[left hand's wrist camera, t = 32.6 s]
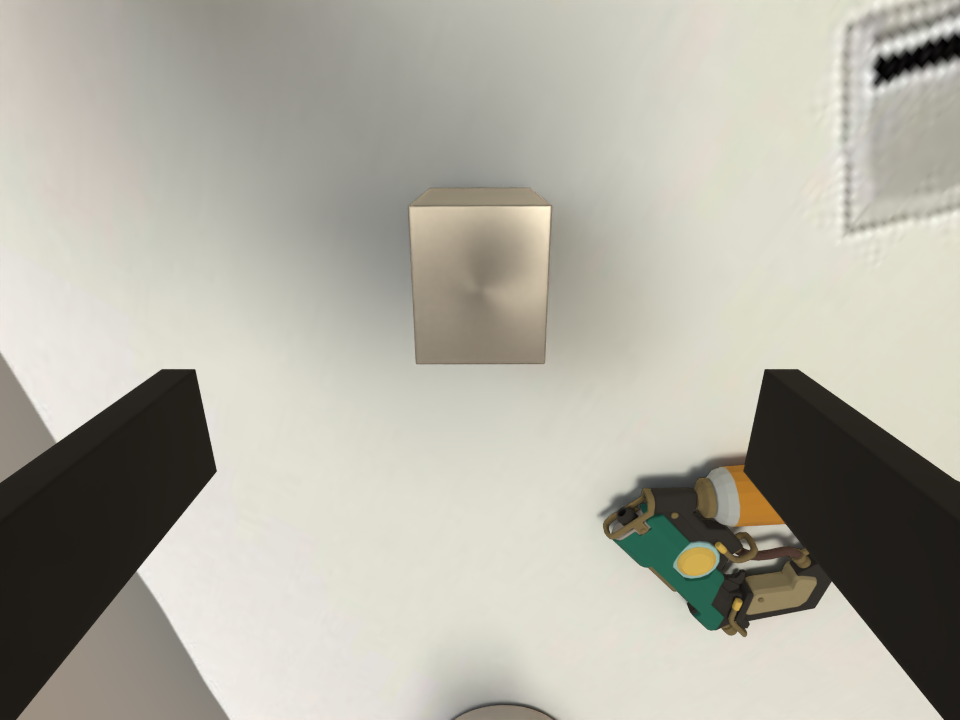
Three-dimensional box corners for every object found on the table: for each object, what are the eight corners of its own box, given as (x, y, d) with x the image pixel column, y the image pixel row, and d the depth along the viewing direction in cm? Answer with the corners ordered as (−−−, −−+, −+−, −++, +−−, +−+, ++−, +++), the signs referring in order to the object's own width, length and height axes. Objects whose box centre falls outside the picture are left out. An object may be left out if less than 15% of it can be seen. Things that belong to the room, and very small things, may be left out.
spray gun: (834, 572, 44) (659, 628, 47) (788, 417, 38) (589, 492, 41) (867, 617, 41) (674, 674, 43) (823, 453, 34) (600, 533, 37)
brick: (433, 304, 35) (415, 364, 26) (429, 187, 33) (407, 205, 23) (526, 304, 35) (545, 364, 26) (530, 187, 33) (552, 204, 23)
